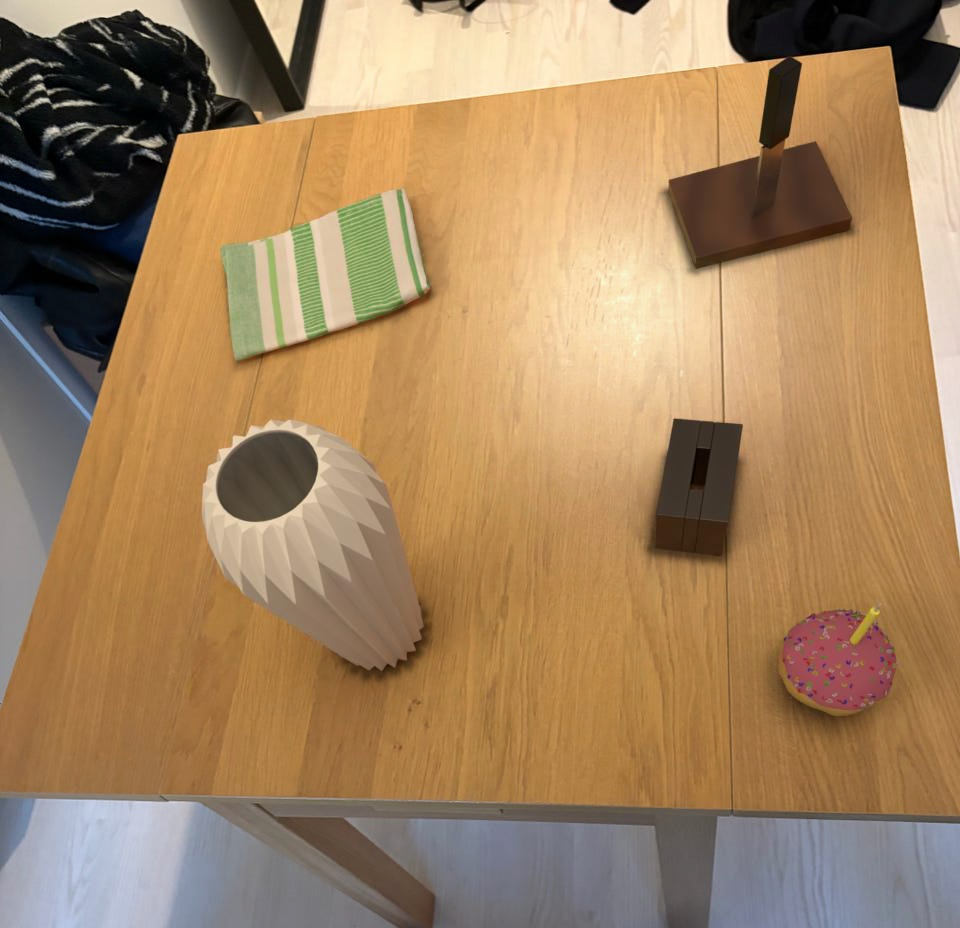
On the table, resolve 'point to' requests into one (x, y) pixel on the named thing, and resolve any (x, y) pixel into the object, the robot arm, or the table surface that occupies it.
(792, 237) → the cutting board
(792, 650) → the cupcake
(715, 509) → the knife block
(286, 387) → the table surface
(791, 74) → the knife
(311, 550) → the vase
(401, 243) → the dish towel
